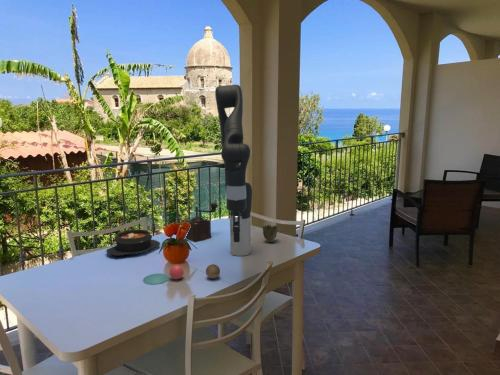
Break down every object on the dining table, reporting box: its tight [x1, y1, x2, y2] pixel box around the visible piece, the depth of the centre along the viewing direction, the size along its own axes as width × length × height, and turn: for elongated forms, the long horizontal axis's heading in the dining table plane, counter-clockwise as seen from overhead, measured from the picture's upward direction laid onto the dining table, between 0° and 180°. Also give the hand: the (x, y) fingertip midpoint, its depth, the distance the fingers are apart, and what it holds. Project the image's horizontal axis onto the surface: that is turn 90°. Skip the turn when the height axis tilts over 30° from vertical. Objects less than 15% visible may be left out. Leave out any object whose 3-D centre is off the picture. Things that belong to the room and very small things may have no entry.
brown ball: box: [205, 263, 221, 280], centre depth 149 cm, size 6×6×6 cm
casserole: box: [105, 229, 161, 257], centre depth 180 cm, size 25×19×8 cm
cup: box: [262, 224, 278, 244], centre depth 192 cm, size 8×7×8 cm
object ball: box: [169, 264, 185, 280], centre depth 149 cm, size 6×6×6 cm
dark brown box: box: [183, 202, 219, 243], centre depth 200 cm, size 16×11×18 cm
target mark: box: [142, 273, 170, 286], centre depth 149 cm, size 10×10×1 cm
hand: (236, 238), depth 147 cm, fingers open, 8 cm apart
